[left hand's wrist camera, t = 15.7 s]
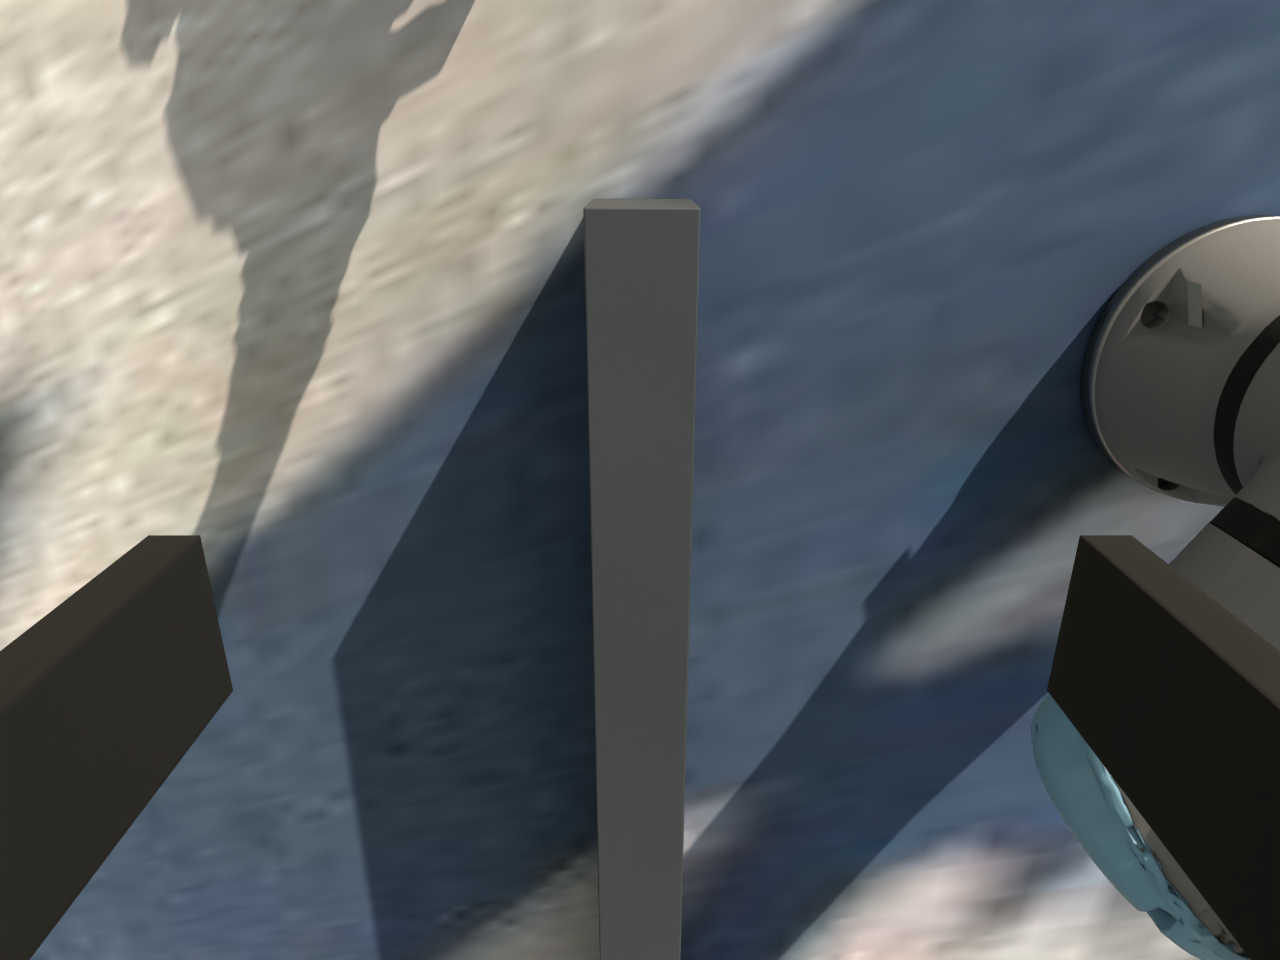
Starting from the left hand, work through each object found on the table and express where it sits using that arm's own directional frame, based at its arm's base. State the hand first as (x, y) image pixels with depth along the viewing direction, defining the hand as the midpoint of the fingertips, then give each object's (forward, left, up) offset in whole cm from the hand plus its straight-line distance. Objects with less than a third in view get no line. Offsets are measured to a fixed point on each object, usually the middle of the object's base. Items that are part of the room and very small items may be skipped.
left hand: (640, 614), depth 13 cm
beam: (+8, +26, -34) cm, 43 cm away
